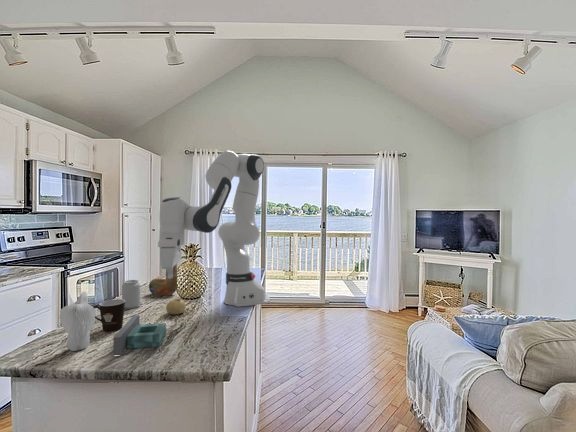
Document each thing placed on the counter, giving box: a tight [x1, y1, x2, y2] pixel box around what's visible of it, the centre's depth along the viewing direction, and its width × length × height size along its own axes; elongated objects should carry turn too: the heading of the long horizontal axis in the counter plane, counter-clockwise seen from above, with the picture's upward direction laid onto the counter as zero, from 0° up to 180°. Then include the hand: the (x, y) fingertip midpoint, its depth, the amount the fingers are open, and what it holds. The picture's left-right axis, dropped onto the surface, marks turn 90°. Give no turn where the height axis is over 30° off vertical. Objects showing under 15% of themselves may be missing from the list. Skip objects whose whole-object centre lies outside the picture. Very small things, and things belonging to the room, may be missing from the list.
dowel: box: [165, 263, 178, 290], centre depth 117 cm, size 4×4×10 cm
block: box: [126, 322, 167, 349], centre depth 106 cm, size 10×10×4 cm
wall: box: [112, 314, 140, 356], centre depth 105 cm, size 2×20×6 cm, turn 10°
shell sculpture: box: [59, 290, 97, 352], centre depth 101 cm, size 8×8×18 cm
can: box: [121, 279, 141, 310], centre depth 143 cm, size 8×8×12 cm
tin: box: [148, 278, 177, 296], centre depth 164 cm, size 15×3×8 cm, turn 77°
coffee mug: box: [93, 298, 125, 333], centre depth 118 cm, size 12×9×10 cm
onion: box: [165, 297, 187, 316], centre depth 135 cm, size 8×8×7 cm
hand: (171, 276), depth 117 cm, fingers closed on dowel, 4 cm apart
